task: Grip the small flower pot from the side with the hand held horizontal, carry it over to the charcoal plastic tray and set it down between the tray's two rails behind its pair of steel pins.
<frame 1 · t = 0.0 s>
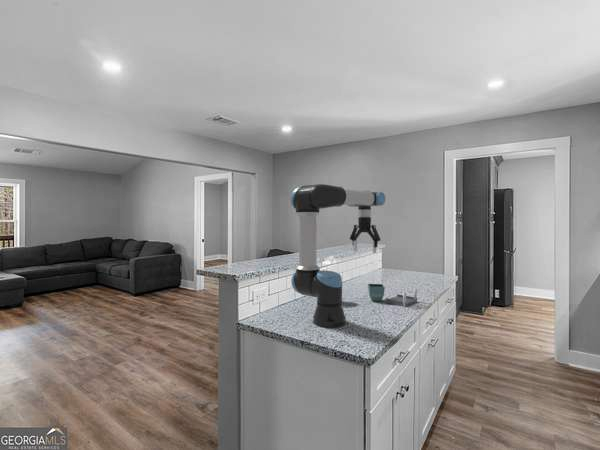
hand: (364, 252, 195), 28 cm above the countertop, tool pointing down, fingers open, 13 cm apart
tray: (401, 302, 186), on the countertop
flower pot: (376, 300, 191), on the countertop
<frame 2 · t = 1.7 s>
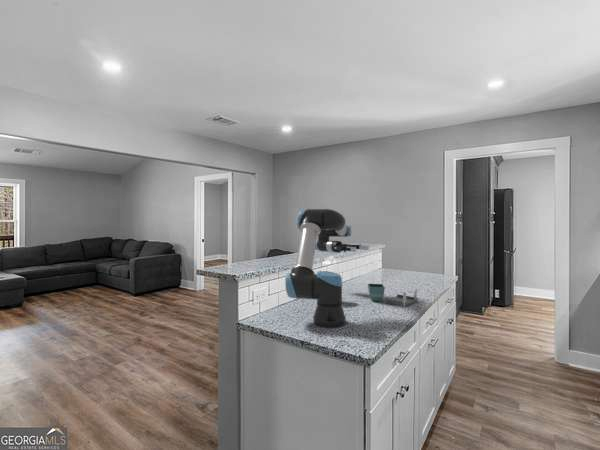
hand: (362, 248, 197), 30 cm above the countertop, tool horizontal, fingers open, 13 cm apart
nothing on the countertop moved.
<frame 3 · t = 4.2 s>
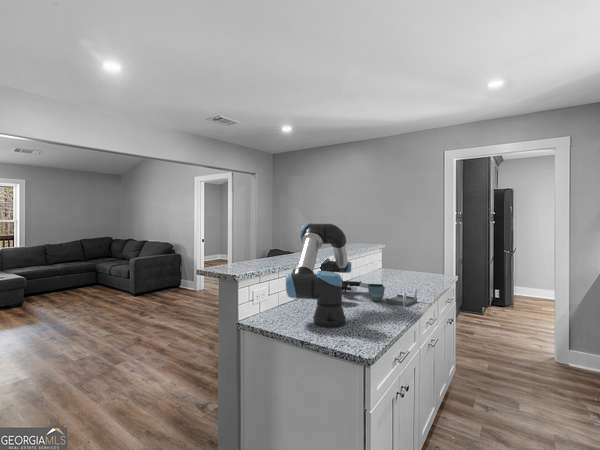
hand: (362, 287, 198), 6 cm above the countertop, tool horizontal, fingers open, 13 cm apart
nothing on the countertop moved.
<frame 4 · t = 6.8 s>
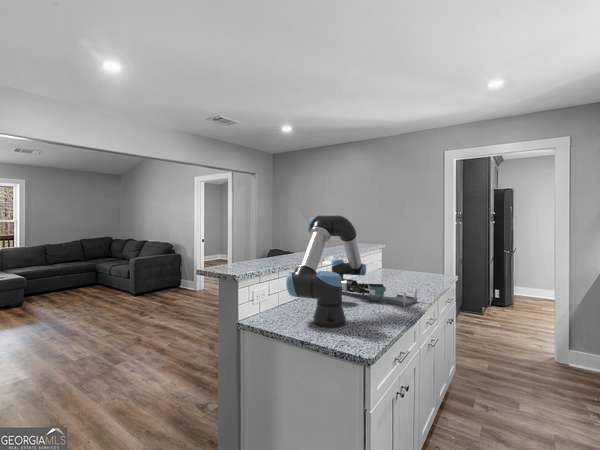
hand: (380, 291, 189), 6 cm above the countertop, tool horizontal, fingers closed on flower pot, 11 cm apart
flower pot: (376, 300, 191), on the countertop, touching gripper
everything else where it was.
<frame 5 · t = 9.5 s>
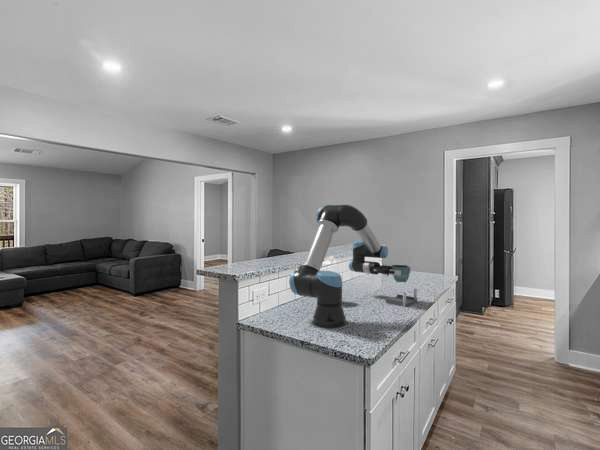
hand: (405, 271, 184), 18 cm above the countertop, tool horizontal, fingers closed on flower pot, 11 cm apart
flower pot: (400, 281, 186), point 12 cm above the countertop, touching gripper
everything else where it was.
when the fingers open (8 cm above the countertop, at t = 12.1 s): flower pot stays where it is, resting on tray.
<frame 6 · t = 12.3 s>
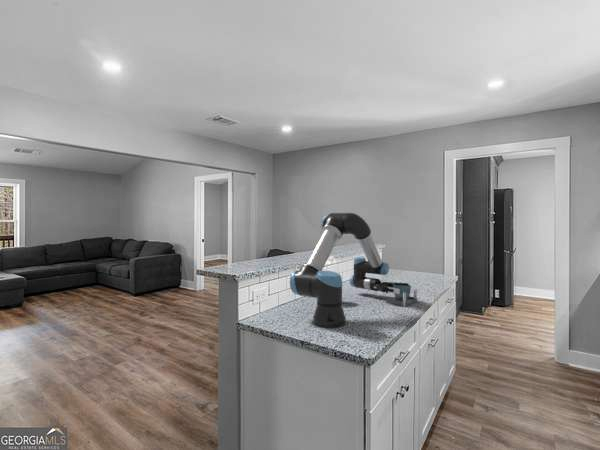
hand: (405, 289, 184), 8 cm above the countertop, tool horizontal, fingers open, 13 cm apart
flower pot: (401, 300, 186), point 1 cm above the countertop, touching tray
everything else where it was.
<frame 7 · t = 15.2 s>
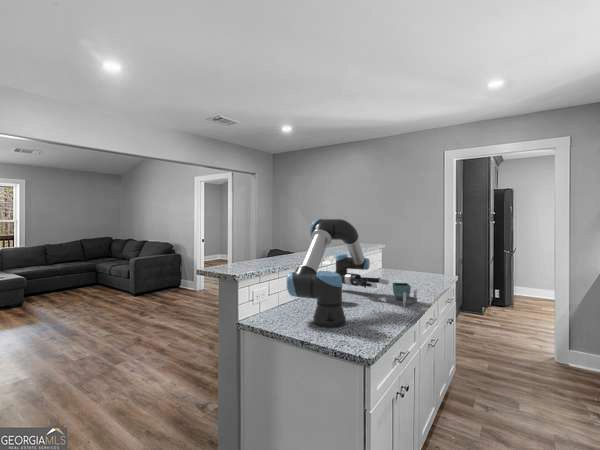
hand: (382, 284, 195), 9 cm above the countertop, tool horizontal, fingers open, 13 cm apart
nothing on the countertop moved.
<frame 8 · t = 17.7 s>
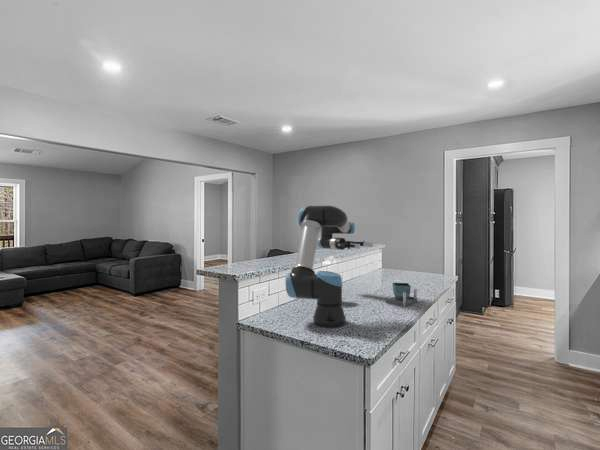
hand: (366, 245, 195), 32 cm above the countertop, tool horizontal, fingers open, 13 cm apart
nothing on the countertop moved.
at the end: flower pot inside the target area on the tray (0.1 cm from its centre), point 1.3 cm above the tray's base; flower pot tilted 0°; the gripper is holding nothing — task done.
